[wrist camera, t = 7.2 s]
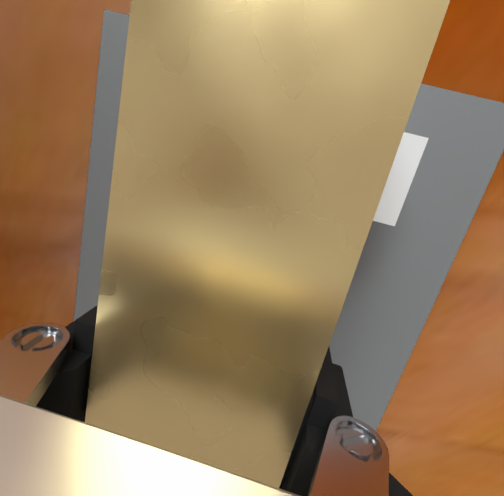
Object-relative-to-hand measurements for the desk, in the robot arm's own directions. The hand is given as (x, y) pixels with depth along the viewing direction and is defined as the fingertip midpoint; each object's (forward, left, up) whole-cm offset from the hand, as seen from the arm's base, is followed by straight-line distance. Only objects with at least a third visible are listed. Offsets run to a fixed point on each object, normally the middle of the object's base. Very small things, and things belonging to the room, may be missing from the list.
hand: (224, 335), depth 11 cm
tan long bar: (0, 0, -1) cm, 1 cm away
